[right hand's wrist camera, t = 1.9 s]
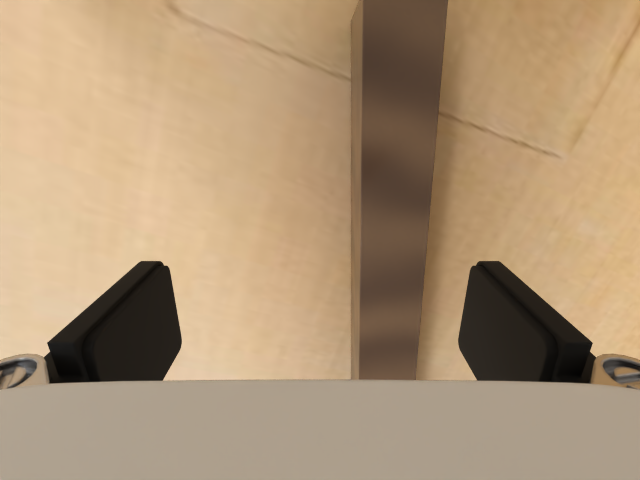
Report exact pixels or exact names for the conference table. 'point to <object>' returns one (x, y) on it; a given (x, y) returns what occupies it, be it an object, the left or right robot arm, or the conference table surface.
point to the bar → (391, 177)
